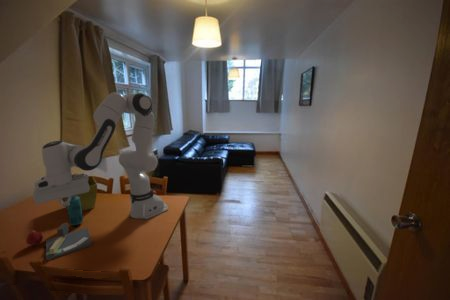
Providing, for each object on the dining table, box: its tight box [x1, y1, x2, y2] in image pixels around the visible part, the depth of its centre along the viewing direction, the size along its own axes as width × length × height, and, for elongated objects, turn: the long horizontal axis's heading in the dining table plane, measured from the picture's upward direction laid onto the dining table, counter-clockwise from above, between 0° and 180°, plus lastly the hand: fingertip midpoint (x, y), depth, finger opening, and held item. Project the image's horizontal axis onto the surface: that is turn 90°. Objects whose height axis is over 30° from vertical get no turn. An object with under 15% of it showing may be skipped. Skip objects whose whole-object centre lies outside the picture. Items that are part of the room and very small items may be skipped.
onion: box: [25, 230, 44, 247], centre depth 101 cm, size 6×6×8 cm
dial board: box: [45, 227, 93, 262], centre depth 103 cm, size 17×16×1 cm
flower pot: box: [61, 175, 98, 212], centre depth 136 cm, size 19×19×17 cm
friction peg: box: [49, 222, 69, 254], centre depth 100 cm, size 2×15×6 cm, turn 16°
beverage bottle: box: [66, 195, 84, 226], centre depth 117 cm, size 6×7×20 cm
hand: (66, 205), depth 98 cm, fingers closed
